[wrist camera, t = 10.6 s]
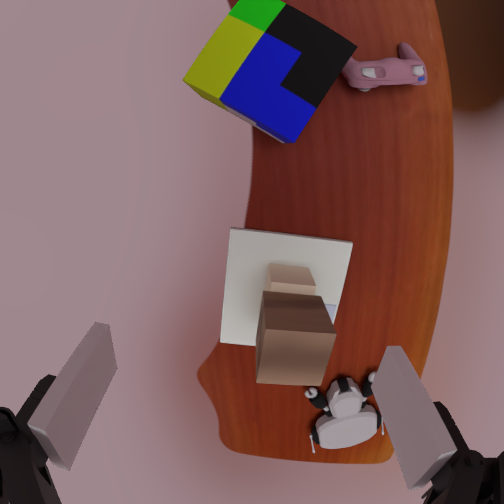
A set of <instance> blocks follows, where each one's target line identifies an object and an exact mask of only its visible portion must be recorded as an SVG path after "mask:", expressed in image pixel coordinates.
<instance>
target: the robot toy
mask: <svg viewBox="0 0 504 504" xmlns="http://www.w3.org/2000/svg"><path fill="white" fill-rule="evenodd" d="M376 374H377V372H376V373H375V372H371V373H370V375H369V378H366V379H365V382H364V384H363V386H362V394H361V391H360V389H359V387H358V385H357V384H356V383H354V381H353V380H352V378H347V377H346V378H347V379H345V378H341V379H339V380H338V383H337V380H336V381H334V382H333V383H332V384H331V387H330V389H329V390H328V392H327V395H326V396H327V400H328V404H329V406H327V404H326V399H325V397H324V396H323V395H322V394H321V393H320V392H319V391H317V390H316V389H315V388H313V387H311V388H309V391H311V392H309V391H308V390H306V391H305V393H304V394H305V395H306V397H308V398H309V400H310V402H311V403H312V404H313V405H314V406H315V407H316V408H319V409H324V413H325V415H323V416H322V417H320V418H319V419H318V420H317V422H316V425H314V426H313V427H312V430H311V434H309V435H310V438H311V442H312V448H313V453H315V451H314V447H313V441H314V442H315V443H316V444H319V445H320V446H321V447H322V448H327V449H338V448H344V447H350V446H353V445H356V444H358V443H361V442H363V441H365V440H367V439H369V438H371V437H372V436H373V435H374V434H375V433H376V431H377V429H378V428H379V427H380V424H381V425H382V435H384V432H383V417H382V415H380V413H379V411H378V410H375V409H374V408H373V407H372V406H371V405H366V404H367V402H366V398H367V397H369V396H371V395H372V394H373V391H372V389H371V385H372V383H373V381H374V378H375V376H376ZM347 381H348V382H347ZM312 439H313V441H312Z"/></svg>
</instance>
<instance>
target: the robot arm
mask: <svg viewBox="0 0 504 504" xmlns="http://www.w3.org/2000/svg"><path fill="white" fill-rule="evenodd" d="M116 370H117V364H116V359H115V354H114V349H113V343H112V338H111V332H110V326H109V324H102V323H98V322H95V323H94V325H93V326H92V327H91V328H90V330H89V331H88V333H87V334H86V335H85V337H84V338H83V340H82V341H81V342H80V344H79V345H78V347H77V348H76V350H75V351H74V352H73V354H72V355H71V357H70V358H69V360H68V361H67V363H66V364H65V365H64V367H63V368H62V370H61V371H60V373H59V374H58V376H57V377H56V376H53V375H49V374H48V375H47V376H46V377H44V378H43V379H41V380H40V381H39V382H38V384H37V385H36V387H35V388H34V391H32V393H31V394H30V397H28V399H27V400H26V402H25V403H24V404H23V406H22V408H21V409H20V411H19V412H18V414H17V415H16V417H15V415H14V414H13V412H12V411H11V410H10V409H9V408H5V407H0V504H9V503H10V504H62V503H61V501H60V499H59V497H58V494H57V491H56V489H55V486H54V484H53V481H52V479H51V476H50V473H49V470H48V467H47V466H46V461H47V459H48V458H49V459H50V461H51V462H52V463H53V465H55V466H58V467H60V468H63V469H65V470H68V471H70V469H71V466H72V464H73V461H74V459H75V457H76V455H77V453H78V450H79V448H80V446H81V444H82V441H83V439H84V437H85V435H86V433H87V430H88V428H89V426H90V424H91V422H92V420H93V417H94V415H95V413H96V411H97V409H98V407H99V405H100V403H101V401H102V398H103V396H104V394H105V392H106V390H107V388H108V386H109V384H110V382H111V380H112V378H113V376H114V374H115V372H116ZM371 389H372V391H373V394H374V397H375V399H376V402H377V404H378V407H379V409H380V412H381V415H382V417H383V420H384V423H385V425H386V428H387V431H388V433H389V436H390V439H391V442H392V444H393V447H394V450H395V453H396V456H397V458H398V461H399V464H400V467H401V470H402V472H403V476H404V479H405V481H406V485H407V488H408V490H409V491H410V490H414V489H418V488H422V487H424V486H425V485H426V484H427V483H428V482H429V481H430V480H431V481H432V484H433V486H432V487H431V488H430V489H429V490H428V491H427V492H426V493H425V494H424V495H423V496H422V499H423V498H424V497H425V496H427V497H426V499H425V501H424V503H423V504H504V451H503V452H502V453H501V454H500V455H499V456H498V457H497V458H484V457H483V456H482V455H481V454H480V453H479V452H477V451H475V450H469V448H468V446H467V444H466V443H465V441H464V439H463V437H462V435H461V433H460V431H459V429H458V427H457V426H456V425H455V422H454V420H453V419H452V417H451V415H450V413H449V411H448V410H447V408H446V407H445V406H444V405H443V404H442V403H441V402H439V401H438V402H432V400H431V398H430V396H429V394H428V393H427V391H426V389H425V388H424V385H423V384H422V382H421V380H420V378H419V377H418V375H417V373H416V371H415V370H414V368H413V366H412V364H411V363H410V361H409V359H408V358H407V356H406V354H405V352H404V351H403V349H402V347H401V346H387V348H386V351H385V354H384V356H383V359H382V361H381V364H380V366H379V369H378V371H377V374H376V376H375V378H374V381H373V383H372V385H371Z"/></svg>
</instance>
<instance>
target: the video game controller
mask: <svg viewBox="0 0 504 504" xmlns="http://www.w3.org/2000/svg"><path fill="white" fill-rule="evenodd" d="M398 49H399V56H400V58H401V59H399V58H394V57H390V58H384V59H381V60H378V61H362V62H358V61H356V60H354V59H353V58H352V57H350V59H349V60H348V62H347V63H346V65H345V66H344V68H343V69H342V71H341V73H342V74H343V75H344V77H345V78H346V79H347V81H348V85H350V86H352V87H356V88H359V90H361V91H364V92H365V91H369V90H370V88H374V87H378V86H380V85H400V84H411V85H425V84H427V71H426V67H425V64H424V63H423V61H422V60H421V59H420V58H419V56H418V55H417V54H416V52H415V51H414V50H413V48H412V47H411V46H410V45H409V44H407V43H404V42H402V43H400V45H399V48H398Z"/></svg>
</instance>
